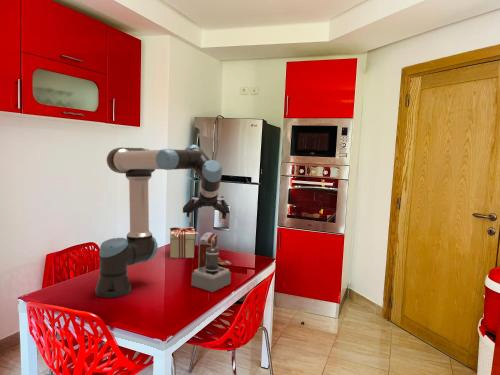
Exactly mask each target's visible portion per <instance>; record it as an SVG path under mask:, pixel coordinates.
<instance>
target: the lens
mask: <svg viewBox="0 0 500 375" xmlns="http://www.w3.org/2000/svg"><path fill="white" fill-rule="evenodd" d="M219 250H220V249H219V247H218V248H217V247H208V248H206V268H205V270H206V273H209V274H213V275H214V274H216V273H218V267H219V264H218V258H220V257H219V254H220V251H219Z"/></svg>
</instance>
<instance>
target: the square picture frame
mask: <svg viewBox="0 0 500 375" xmlns="http://www.w3.org/2000/svg"><path fill="white" fill-rule="evenodd" d="M205 268H206V266H204V267H201V268H196V269H193V273H195V274H199V275H202V276H206V277H209V278H212V279H214V278H217V277H219V276H221V275H224V274H226V273H228V272H230V269H229V268H225V267H221V266H218V270H219V271H221V272H219V273H216V274H214V275H213V274H209V273H206V272H202V271H204V270H205Z"/></svg>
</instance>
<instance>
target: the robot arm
mask: <svg viewBox="0 0 500 375" xmlns="http://www.w3.org/2000/svg"><path fill="white" fill-rule="evenodd" d="M106 164H107V166H108V168H109V169H110V170H111V171H112V172H114V173H117V174H125V178H126V179H127V180H128V181H129V182H128V186H129V187H128V189H129V190H128V191H129V193H128V194H129V196H128V198H129V232H128V233H127V234H126V238H125V237H117V238H116V237H114V238H109V239H106V240H104V241H103V242H101V244H100V246H99V277H98V279H97V284H96V286H95V289H94V290H95V293H94V294H95V295H96V296H97V297H100V298H104V299H105V298H106V299H107V298H108V299H109V298H110V299H111V298H112V299H113V298H120V297H124V296H127V295H128V294H130V292H132V284H131V281H130V278H129V276H128V267H129V266H134V265H137V264H140V263H145V262H148V261H151V260H152V259H154V258H155V256H156V255H157V253H158V247H159V246H158V241H157V240H156V237H154V236H153V233H152V232H151V231H150V227H149V226H150V224H149V222H150V220H149V217H150V216H149V215H150V214H149V213H150V212H149V180H150V179H151V178H152V173H154V172H155V170H165V171H172V170H193V171H194V172H195V174H196V175H197V176H198V177H199V178H200V188H199V196H198V197H196V196H195V195H191V197H190V199H189V200H188V201H187V202H186V204H185V205H184V206H183V207H182V213H184V214H185V213H186V218H188V223H191V222H192V213H193V212H195V211H196V210H198V209H199V208H200V209H201V208H203V207H209V208H210V207H212V208H213V209H216V210H218V212H219V215H218V223H222V219H223V218H224V217H225V216H226V214H230V207H229V205H228V204H227V202H226V201H225V197H224V196H221V197H218V195H219V190H220V185H221V181H222V180H221V179H222V177H223V166H222V164H221V163H220V162H219V161H216V160H214V159H213V160H212V159H210V158H209V157H208V155H207V154H206V153H205V152H204V151H203V149H201V148H200V147H199V145H197V144H190V145H188V146H186V147H185V148H184V149H171V148H165V149H148V148H143V147H116V148H114V149H111V150H110V151H109V152H108V154H107V156H106Z"/></svg>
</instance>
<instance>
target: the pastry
mask: <svg viewBox="0 0 500 375" xmlns="http://www.w3.org/2000/svg"><path fill="white" fill-rule="evenodd" d="M231 264H232V262H230V261H228V260H222V259H221V258H220V257H218V265H221V266H230V265H231Z"/></svg>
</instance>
